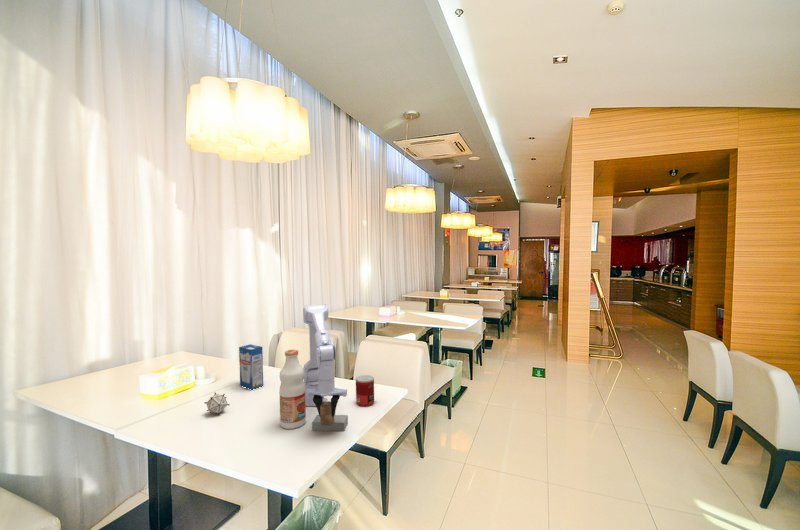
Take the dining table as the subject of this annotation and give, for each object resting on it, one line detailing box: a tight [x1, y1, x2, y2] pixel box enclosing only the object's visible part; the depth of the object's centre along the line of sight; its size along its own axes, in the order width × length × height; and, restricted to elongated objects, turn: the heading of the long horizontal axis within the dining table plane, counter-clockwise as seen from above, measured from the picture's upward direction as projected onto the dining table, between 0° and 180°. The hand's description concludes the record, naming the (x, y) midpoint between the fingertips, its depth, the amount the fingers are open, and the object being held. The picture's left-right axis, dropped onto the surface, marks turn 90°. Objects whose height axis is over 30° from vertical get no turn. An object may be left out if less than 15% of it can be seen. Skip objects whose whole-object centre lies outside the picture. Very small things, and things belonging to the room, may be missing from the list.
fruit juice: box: [279, 349, 307, 430], centre depth 131 cm, size 9×9×28 cm
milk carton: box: [238, 344, 264, 391], centre depth 170 cm, size 10×6×20 cm, turn 58°
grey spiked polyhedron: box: [204, 392, 231, 416], centre depth 141 cm, size 9×8×10 cm
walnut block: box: [320, 400, 334, 426], centre depth 124 cm, size 4×4×7 cm
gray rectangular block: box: [311, 414, 349, 432], centre depth 128 cm, size 12×6×3 cm, turn 87°
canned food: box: [355, 374, 375, 408], centre depth 148 cm, size 8×8×11 cm
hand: (327, 415), depth 124 cm, fingers closed on walnut block, 4 cm apart
